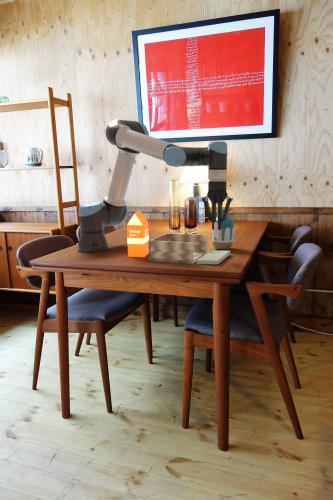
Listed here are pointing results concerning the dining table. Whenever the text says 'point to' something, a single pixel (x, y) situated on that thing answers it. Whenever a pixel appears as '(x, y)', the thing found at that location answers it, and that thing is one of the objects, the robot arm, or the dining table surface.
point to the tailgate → (213, 257)
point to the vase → (224, 234)
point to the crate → (177, 248)
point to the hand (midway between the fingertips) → (216, 237)
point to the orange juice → (137, 236)
